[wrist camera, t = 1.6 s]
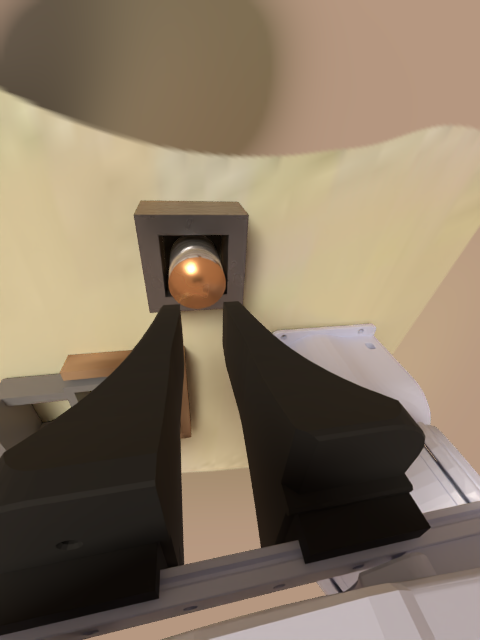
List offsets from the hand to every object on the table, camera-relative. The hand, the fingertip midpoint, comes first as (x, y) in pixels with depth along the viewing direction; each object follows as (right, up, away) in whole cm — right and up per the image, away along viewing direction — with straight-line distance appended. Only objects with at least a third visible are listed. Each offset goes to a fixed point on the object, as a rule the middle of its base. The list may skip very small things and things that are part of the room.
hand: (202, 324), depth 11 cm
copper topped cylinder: (-1, +4, +6) cm, 7 cm away
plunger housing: (-2, +5, +7) cm, 8 cm away
